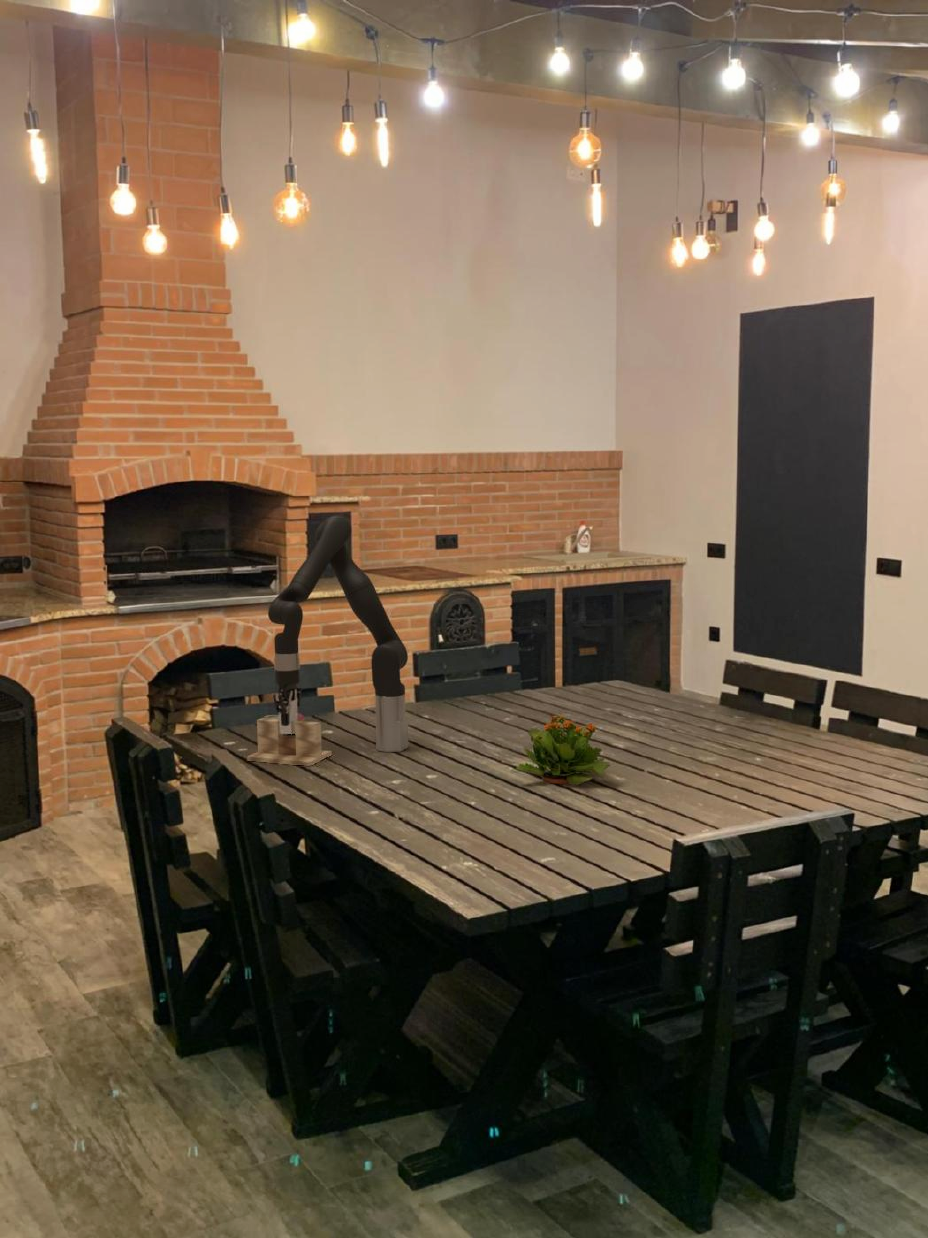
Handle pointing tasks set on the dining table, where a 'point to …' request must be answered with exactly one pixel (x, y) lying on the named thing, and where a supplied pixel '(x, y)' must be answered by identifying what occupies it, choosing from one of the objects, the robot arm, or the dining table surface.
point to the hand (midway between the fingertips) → (288, 723)
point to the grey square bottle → (292, 718)
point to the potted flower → (563, 753)
